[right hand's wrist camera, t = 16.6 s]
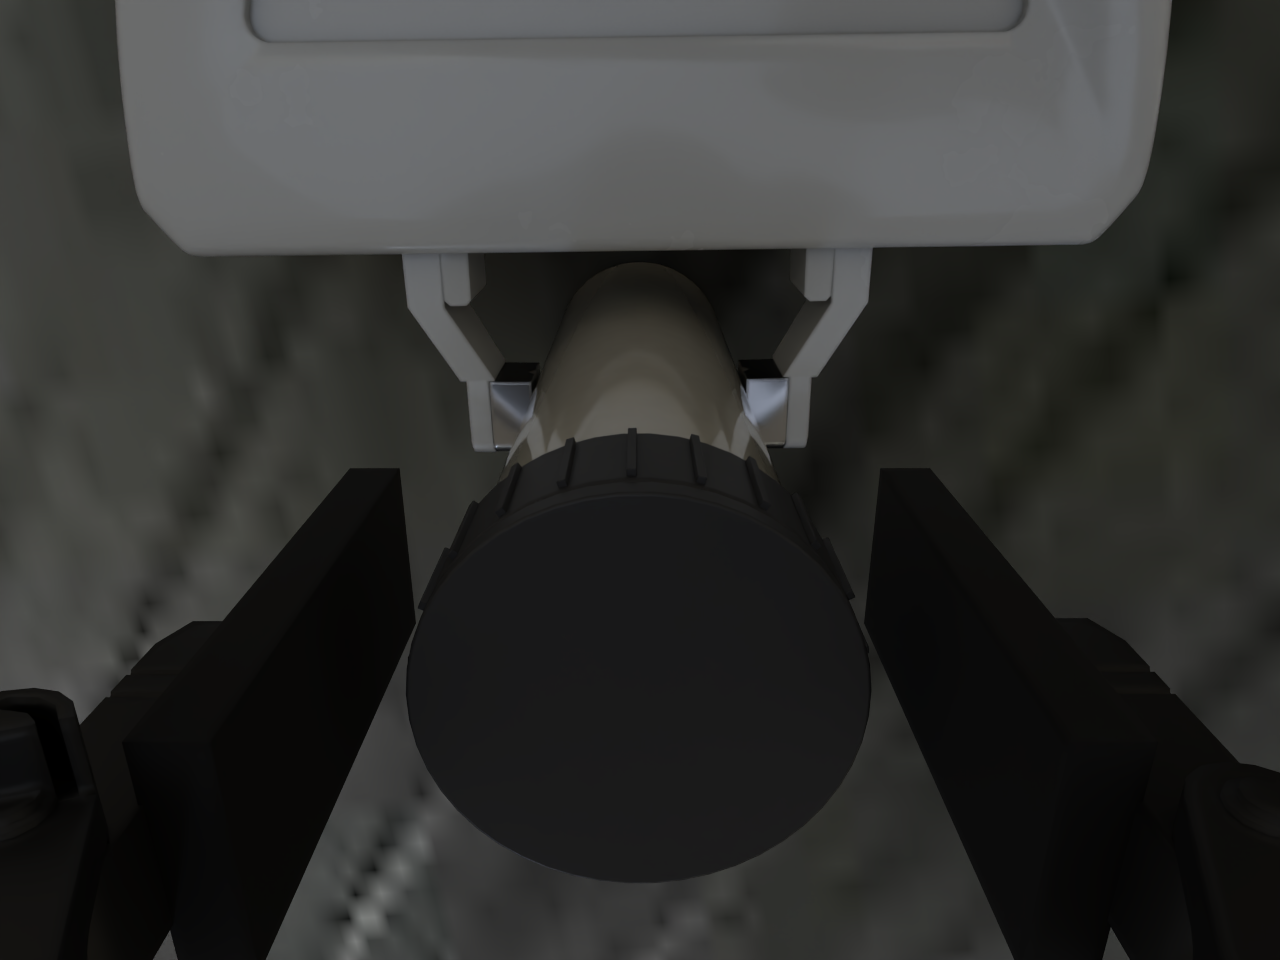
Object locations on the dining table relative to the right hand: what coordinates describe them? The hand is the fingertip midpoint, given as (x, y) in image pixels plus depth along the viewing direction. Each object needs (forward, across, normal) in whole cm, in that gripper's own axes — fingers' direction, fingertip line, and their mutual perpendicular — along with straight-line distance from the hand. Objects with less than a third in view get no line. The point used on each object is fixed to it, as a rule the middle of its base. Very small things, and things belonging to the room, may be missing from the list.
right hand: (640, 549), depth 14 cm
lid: (-4, 0, 0) cm, 4 cm away
